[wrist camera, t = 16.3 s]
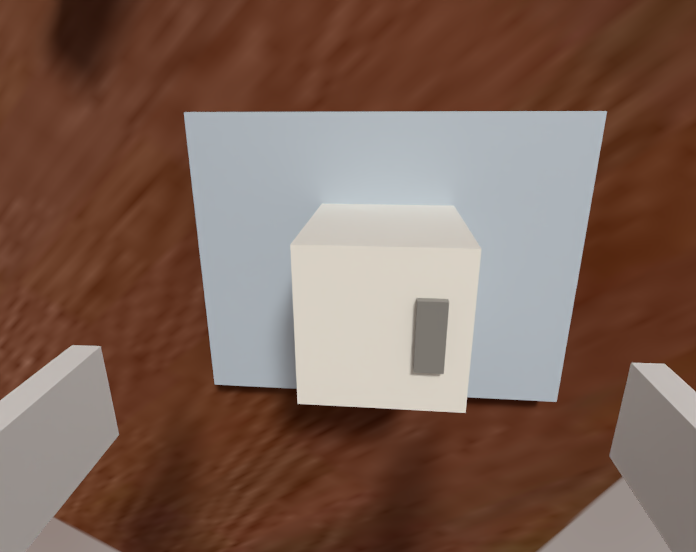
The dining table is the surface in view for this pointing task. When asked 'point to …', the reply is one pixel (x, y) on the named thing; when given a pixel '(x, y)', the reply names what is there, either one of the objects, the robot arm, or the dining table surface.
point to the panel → (396, 189)
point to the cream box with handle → (384, 307)
